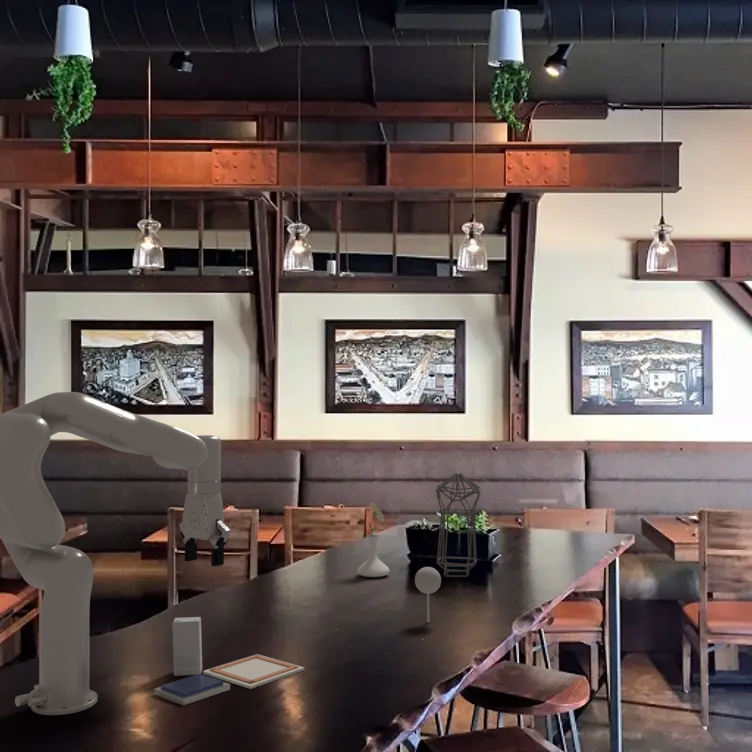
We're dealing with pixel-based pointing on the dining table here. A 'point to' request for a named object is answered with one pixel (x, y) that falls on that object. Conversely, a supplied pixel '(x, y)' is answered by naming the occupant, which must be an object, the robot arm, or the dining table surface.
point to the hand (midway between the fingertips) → (204, 563)
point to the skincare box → (187, 646)
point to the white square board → (253, 671)
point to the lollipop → (427, 583)
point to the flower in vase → (373, 552)
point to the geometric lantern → (475, 490)
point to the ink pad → (191, 689)
